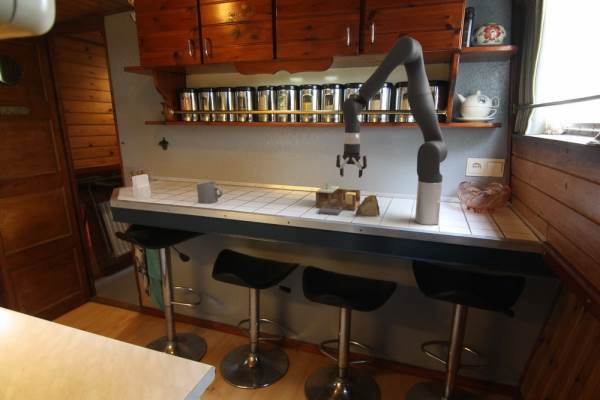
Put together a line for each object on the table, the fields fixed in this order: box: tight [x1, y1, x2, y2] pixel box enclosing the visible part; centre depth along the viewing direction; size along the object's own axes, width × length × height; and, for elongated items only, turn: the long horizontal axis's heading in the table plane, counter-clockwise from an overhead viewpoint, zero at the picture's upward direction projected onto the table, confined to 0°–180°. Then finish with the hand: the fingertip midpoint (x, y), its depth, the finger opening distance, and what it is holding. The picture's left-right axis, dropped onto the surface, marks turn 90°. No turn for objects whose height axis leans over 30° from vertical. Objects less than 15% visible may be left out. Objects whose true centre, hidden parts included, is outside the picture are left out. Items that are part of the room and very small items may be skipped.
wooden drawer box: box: [315, 188, 361, 212], centre depth 168 cm, size 19×12×8 cm, turn 68°
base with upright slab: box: [131, 173, 152, 199], centre depth 192 cm, size 9×9×12 cm
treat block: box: [345, 192, 356, 204], centre depth 166 cm, size 4×4×5 cm
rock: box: [354, 194, 381, 218], centre depth 153 cm, size 11×9×10 cm
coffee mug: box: [196, 180, 223, 205], centre depth 179 cm, size 13×10×10 cm
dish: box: [317, 206, 344, 216], centre depth 159 cm, size 9×9×1 cm
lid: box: [317, 180, 340, 193], centre depth 169 cm, size 7×12×4 cm, turn 158°
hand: (350, 176), depth 164 cm, fingers open, 8 cm apart
